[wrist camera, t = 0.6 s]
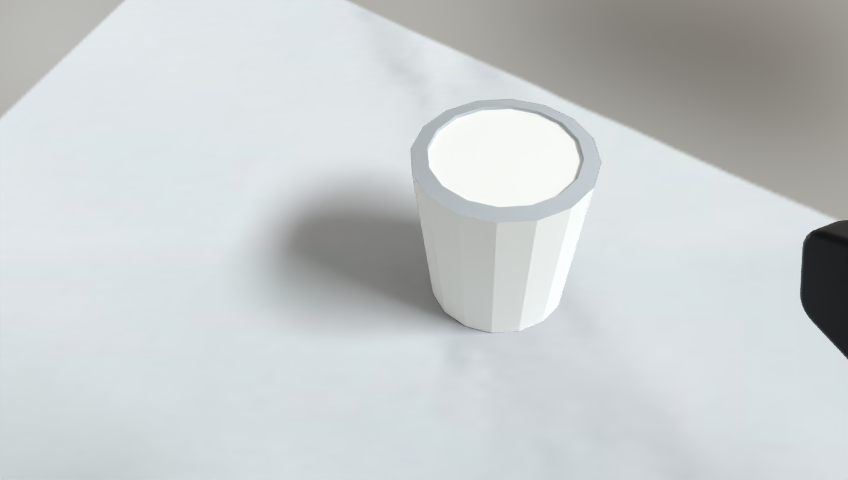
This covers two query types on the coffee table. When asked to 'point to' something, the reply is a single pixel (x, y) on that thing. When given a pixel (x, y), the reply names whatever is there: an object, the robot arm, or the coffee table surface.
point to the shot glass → (502, 208)
